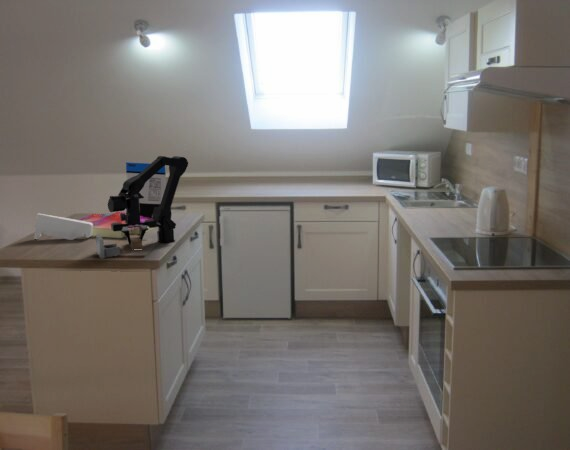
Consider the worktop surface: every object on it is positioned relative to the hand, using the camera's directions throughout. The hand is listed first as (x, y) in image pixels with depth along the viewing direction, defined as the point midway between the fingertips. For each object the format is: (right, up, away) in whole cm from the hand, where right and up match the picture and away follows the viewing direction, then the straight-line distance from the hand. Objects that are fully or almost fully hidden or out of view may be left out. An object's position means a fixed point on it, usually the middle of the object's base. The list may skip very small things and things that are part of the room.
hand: (135, 244), depth 275 cm
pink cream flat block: (-19, +5, +31) cm, 37 cm away
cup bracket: (-7, -4, -13) cm, 15 cm away
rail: (0, -1, 0) cm, 1 cm away
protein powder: (-7, +11, +58) cm, 59 cm away
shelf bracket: (-37, +2, +15) cm, 40 cm away
